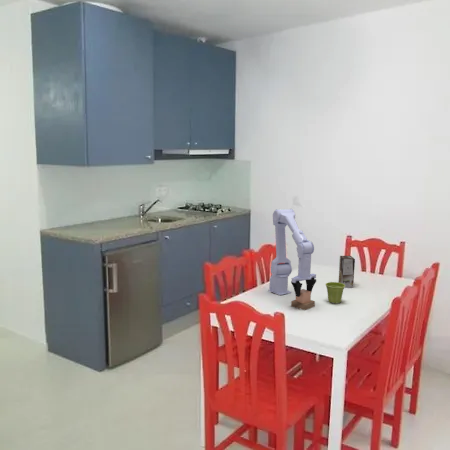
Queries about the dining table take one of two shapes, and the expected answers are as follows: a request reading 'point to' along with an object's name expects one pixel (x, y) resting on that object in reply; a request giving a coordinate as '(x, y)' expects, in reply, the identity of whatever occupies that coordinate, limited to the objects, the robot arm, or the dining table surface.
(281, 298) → the dining table surface
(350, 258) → the coffee box
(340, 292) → the plant pot
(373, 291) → the dining table surface
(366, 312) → the dining table surface
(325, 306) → the dining table surface
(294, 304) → the walnut block
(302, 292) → the terracotta cube
